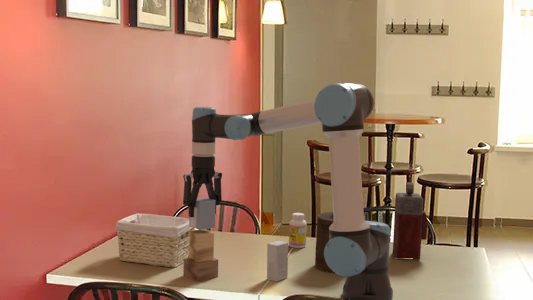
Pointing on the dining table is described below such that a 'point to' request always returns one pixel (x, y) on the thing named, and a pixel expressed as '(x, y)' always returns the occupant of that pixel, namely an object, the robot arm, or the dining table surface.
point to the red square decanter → (409, 224)
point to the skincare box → (277, 260)
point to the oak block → (201, 245)
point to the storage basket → (153, 239)
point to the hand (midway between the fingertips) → (202, 225)
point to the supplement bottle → (297, 231)
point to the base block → (200, 269)
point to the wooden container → (323, 239)
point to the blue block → (205, 213)
